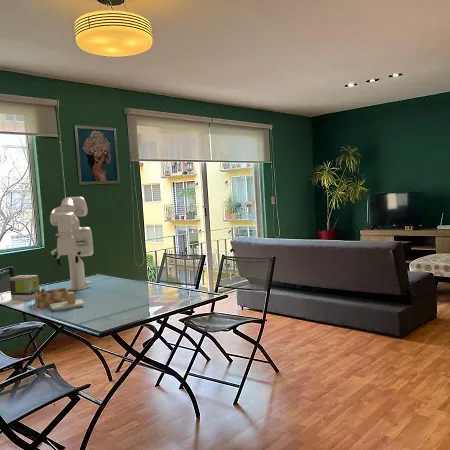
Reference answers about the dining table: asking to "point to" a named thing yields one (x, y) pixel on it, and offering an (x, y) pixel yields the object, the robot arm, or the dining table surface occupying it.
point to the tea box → (24, 287)
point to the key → (43, 293)
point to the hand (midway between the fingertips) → (68, 264)
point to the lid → (67, 303)
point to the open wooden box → (50, 297)
